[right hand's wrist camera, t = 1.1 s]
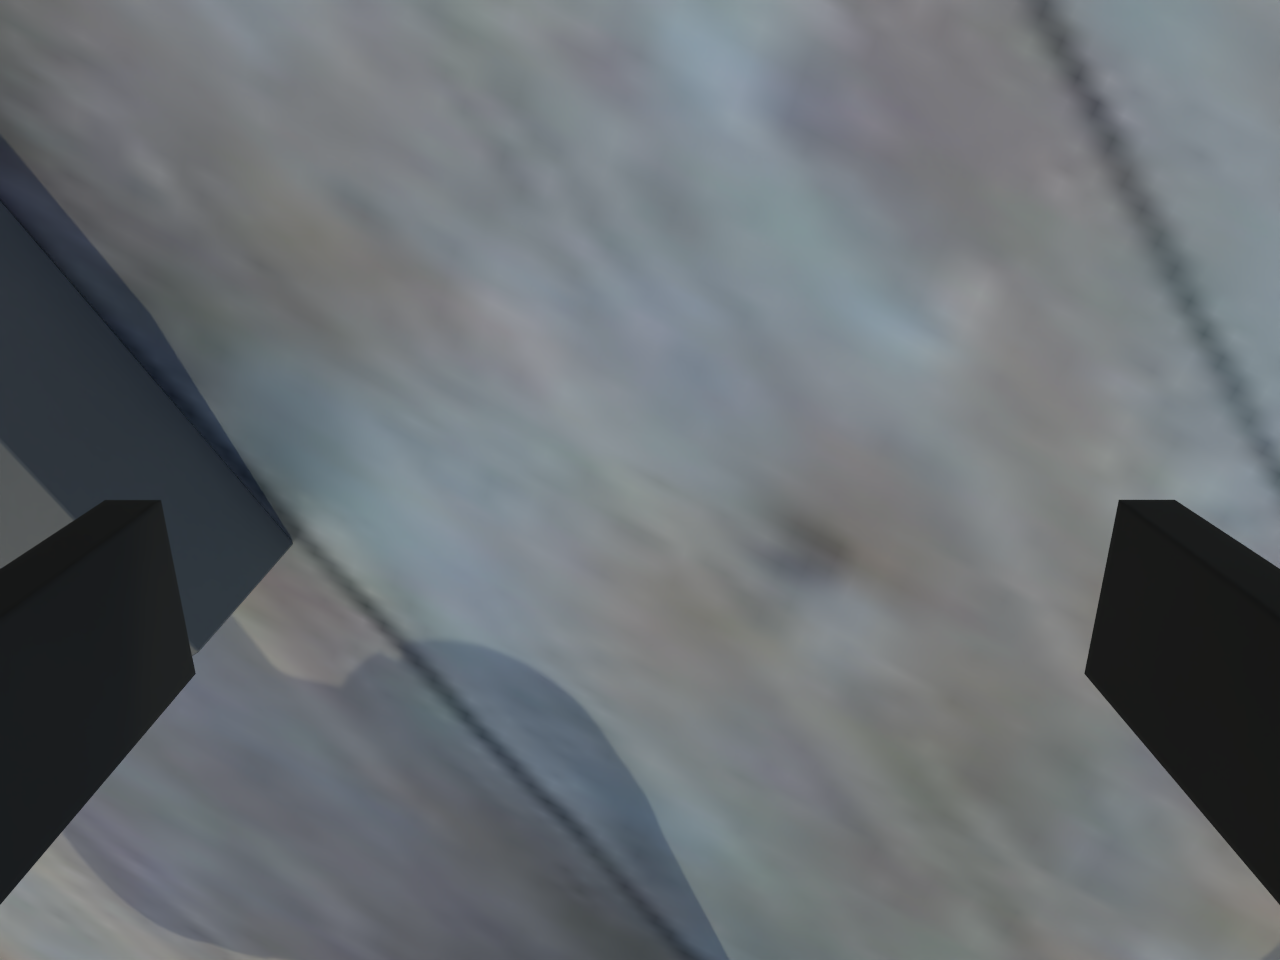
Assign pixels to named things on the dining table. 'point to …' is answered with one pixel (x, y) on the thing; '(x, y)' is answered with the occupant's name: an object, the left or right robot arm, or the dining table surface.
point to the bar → (111, 443)
